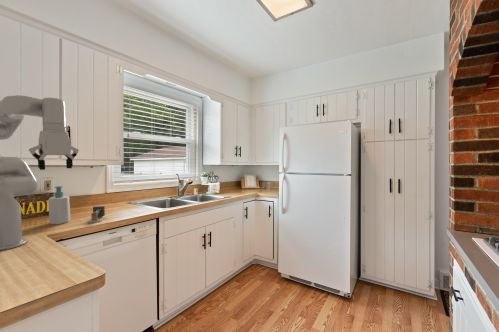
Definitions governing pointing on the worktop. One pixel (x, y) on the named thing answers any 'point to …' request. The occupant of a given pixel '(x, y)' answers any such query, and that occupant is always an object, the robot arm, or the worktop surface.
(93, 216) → the pipe rig
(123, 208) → the worktop surface
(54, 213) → the soap bottle
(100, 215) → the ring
